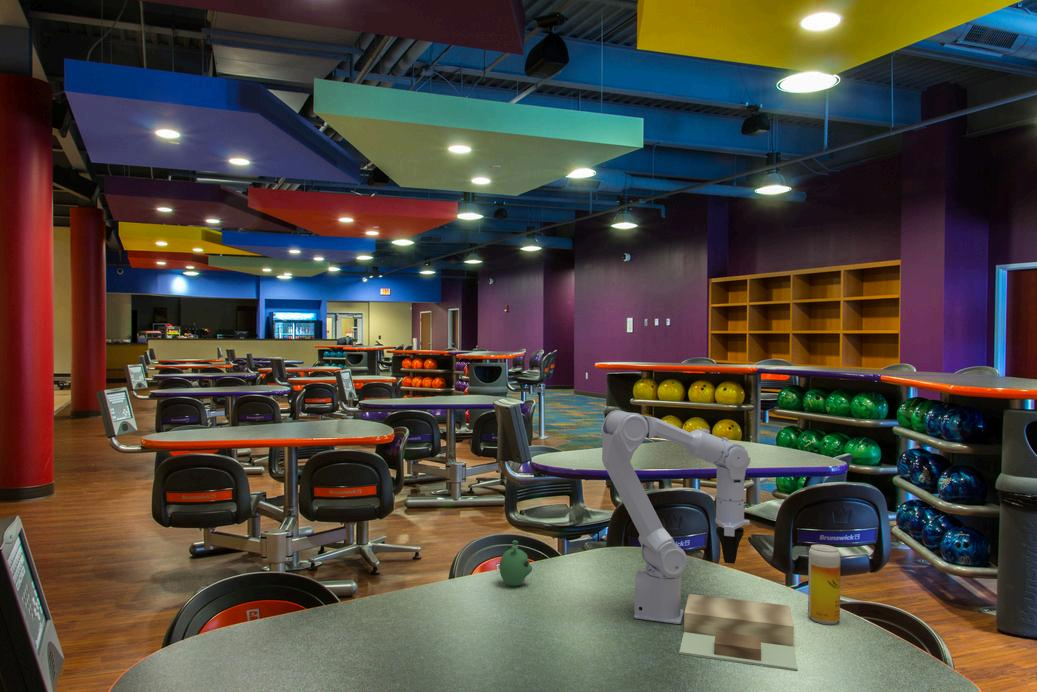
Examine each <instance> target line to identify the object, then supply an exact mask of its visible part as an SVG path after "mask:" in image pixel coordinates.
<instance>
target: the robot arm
mask: <svg viewBox="0 0 1037 692" xmlns="http://www.w3.org/2000/svg"><path fill="white" fill-rule="evenodd" d="M600 433H601V437H602V451H601V452H602V453H601V454H602V455H601V459H602V464H603V466H604V468H605V470H606V472H607V474H608V476H609V478H610V480H611V482H612V483H613V486H614V489H616V491H617V494H618V496H619V498H620V499H621V501H622V504H623V505H624V508H625V509H626V511H627V512H628V515H629V516H630V518H631V521H632V523H633V524H634V527H635V528H636V530H637V532H638V534H639V536H638V541H639V544H640V547H641V549H640V550H641V556H642V557H641V558H642V559H643V560H644V562H646V566H645V570H637V571H636V573H635V581H634V601H633V605H634V610H633V611H634V612H633V613H634V615H633V618H634V619H636V620H637V619H638V620H639V619H640V620H645V621H653V622H661V623H668V624H676V625H681V624H682V620H683V617H684V612H685V609H682V608H681V607H682V606H681V604H682V603H681V602H682V600H681V599H682V597H681V595H682V589H681V588H682V574H683V572H684V571H685V570H686V567H687V565H688V556H687V554H686V551H684V549H682V548H681V547H680V546H678V545H677V544H676V542H675V540H674V538H673V537H672V536H671V535H670V533H669V532H668V531H667V530H666V528H665V527H664V525H663V524H662V522H661V519H660V518H659V516H658V514H657V511H656V510H655V509H654V507H653V505H652V503H651V501H650V499H649V496H648V494H647V493H646V491H645V489H644V486H643V484H642V483H641V481H640V479H639V476H638V475H637V473H636V471H635V469H634V467H633V465H632V463H631V461H632V458H633V455H634V453H635V452H636V450H637V449H638V448H639V447H640V446H641V444H642V443H643V442H644V441H645V439H649V440H650V439H652V438H654V437H658V438H661V439H663V440H666V441H669V442H671V443H674V444H678V445H681V446H683V447H684V449H685V451H686V453H687V454H688V455H689V456H692V457H694V458H697V459H700V460H702V461H705V462H708V463H709V464H712V465H713V466H715V467H716V500H715V501H716V508H715V510H716V512H715V514H716V515H715V518H714V519H715V520H714V522H715V523H716V524H717V525H718V526H717V527H716V529H715V532H716V535H717V537H718V539H719V542H720V545H721V551H722V557H723V561H724V563H725V564H733V565H735V563H736V561H737V556H738V549H739V546H740V542H741V540H742V538H743V537H744V534H745V533H744V532H745V530H744V528H743V527H744V526H745V525H746V526H749V525H750V524H751V523H750V522H751V521H750V519H745V477H746V471H747V469H748V468H749V466H750V464H751V457H750V456H749V453H748V450H747V449H746V448H745V446H743V445H741V444H737V443H734V442H733V443H732V442H729V439H728V438H727V437H724V436H722V437H719V436H716V435H714V434H711V433H710V430H709V429H706V428H701V430H700V429H698V428H697V429H694V430H692V431H690V432H689V431H687V430H685V429H682V428H680V427H678V426H676V425H673V424H671V423H669V422H666V421H664V420H662V419H660V418H657V417H653V416H647V415H643V414H640V413H638V412H627V411H624V410H620V409H615V410H612V411H610V412H609V413H608V414H607V415H606V416H605V418H604V421H603V423H602V425H601V428H600Z"/></svg>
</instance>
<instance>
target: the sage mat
mask: <svg viewBox="0 0 1037 692" xmlns="http://www.w3.org/2000/svg"><path fill="white" fill-rule="evenodd" d="M714 642H715V636H709V635H702V634H695V633H687V632H684V631H683V634H682V640H681V643H680V648H679V652H678V654H679V655H683V656H690V657H698V658H704V659H705V658H706V659H711V660H717V659H718V660H719V661H724V660H726V661H725V662H731V661H732V663H738V662H739V664H747V665H752V664H753V665H754V666H759V665H762V666H761V667H766V666H767V668H773V667H774V668H775V669H780V668H781V669H780V670H788V671H794V672H798V665H797V657H796V653H795V647H794V646H793V647H791V646H784V645H776V644H769V643H761V661H757V660H750V659H743V658H736V657H729V656H722V655H715V654H714ZM718 660H717V661H718ZM753 665H752V666H753Z"/></svg>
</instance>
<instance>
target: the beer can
mask: <svg viewBox="0 0 1037 692" xmlns="http://www.w3.org/2000/svg"><path fill="white" fill-rule="evenodd" d="M807 577H808V585H807V587H808V589H807V590H808V591H807V592H808V593H807V595H808V597H807V615H808V617H810V620H812V621H813V622H815V623H817V622H818V624H821V623H822V624H821V625H836V624H837V623H838V621H840V618H841V553H840V551H839V548H838V547H836V546H832V545H828V544H811V545H810V548H809V550H808V576H807Z"/></svg>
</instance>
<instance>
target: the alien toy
mask: <svg viewBox="0 0 1037 692" xmlns="http://www.w3.org/2000/svg"><path fill="white" fill-rule="evenodd" d="M511 544H512V546H511V548H510V549H508V550H506V551H505V552H504V553H503V554H502V556H501V558H500V561H499V574H500V577H501V579H502V580H503V582H504V583H506V585H509V586H512V587H516V586H518V587H519V586H520V585H522V584H524V582H526V577H527V576H529V574H531V573H532V571H533V566H532V565H531V564H530V561H529V560H530V559H529V557H528V554H527V553H526V552H525V551H524V550H522V549H519V546H517V544H519V541H518V540H515V539H514V540H512V541H511Z"/></svg>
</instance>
